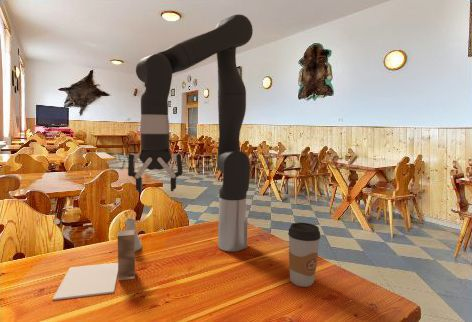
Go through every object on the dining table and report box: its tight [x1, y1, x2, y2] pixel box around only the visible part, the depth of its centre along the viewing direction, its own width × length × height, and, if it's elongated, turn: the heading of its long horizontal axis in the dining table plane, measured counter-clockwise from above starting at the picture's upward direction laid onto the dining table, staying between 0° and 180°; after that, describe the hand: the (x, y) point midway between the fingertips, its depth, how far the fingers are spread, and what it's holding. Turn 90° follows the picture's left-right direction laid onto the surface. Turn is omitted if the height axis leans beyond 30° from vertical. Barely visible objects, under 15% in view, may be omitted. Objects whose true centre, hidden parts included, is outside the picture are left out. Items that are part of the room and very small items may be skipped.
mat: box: [52, 262, 118, 301], centre depth 77 cm, size 13×16×1 cm
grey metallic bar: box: [117, 230, 136, 281], centre depth 79 cm, size 4×4×12 cm
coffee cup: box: [287, 222, 321, 288], centre depth 79 cm, size 8×8×15 cm
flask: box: [124, 217, 143, 252], centre depth 98 cm, size 7×7×10 cm
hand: (156, 191), depth 82 cm, fingers open, 8 cm apart
